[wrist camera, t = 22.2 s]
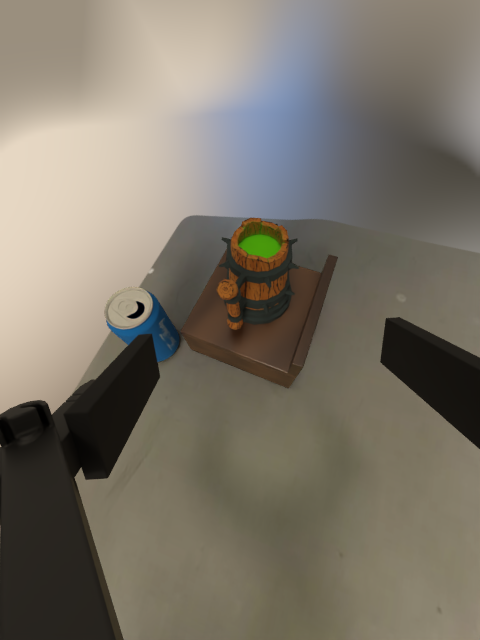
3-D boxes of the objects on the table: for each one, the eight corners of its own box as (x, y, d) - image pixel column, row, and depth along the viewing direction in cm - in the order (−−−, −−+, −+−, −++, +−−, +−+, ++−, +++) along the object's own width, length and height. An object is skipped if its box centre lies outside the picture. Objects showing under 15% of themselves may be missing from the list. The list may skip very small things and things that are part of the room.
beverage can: (168, 369, 39) (138, 339, 28) (132, 355, 40) (89, 321, 29) (187, 332, 41) (165, 292, 31) (152, 320, 43) (120, 277, 32)
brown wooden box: (190, 349, 40) (171, 317, 30) (231, 272, 46) (226, 225, 37) (288, 388, 37) (302, 367, 27) (317, 299, 43) (338, 256, 33)
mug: (241, 256, 39) (239, 187, 29) (304, 280, 37) (326, 216, 26) (196, 324, 34) (173, 271, 24) (265, 358, 32) (273, 315, 21)
